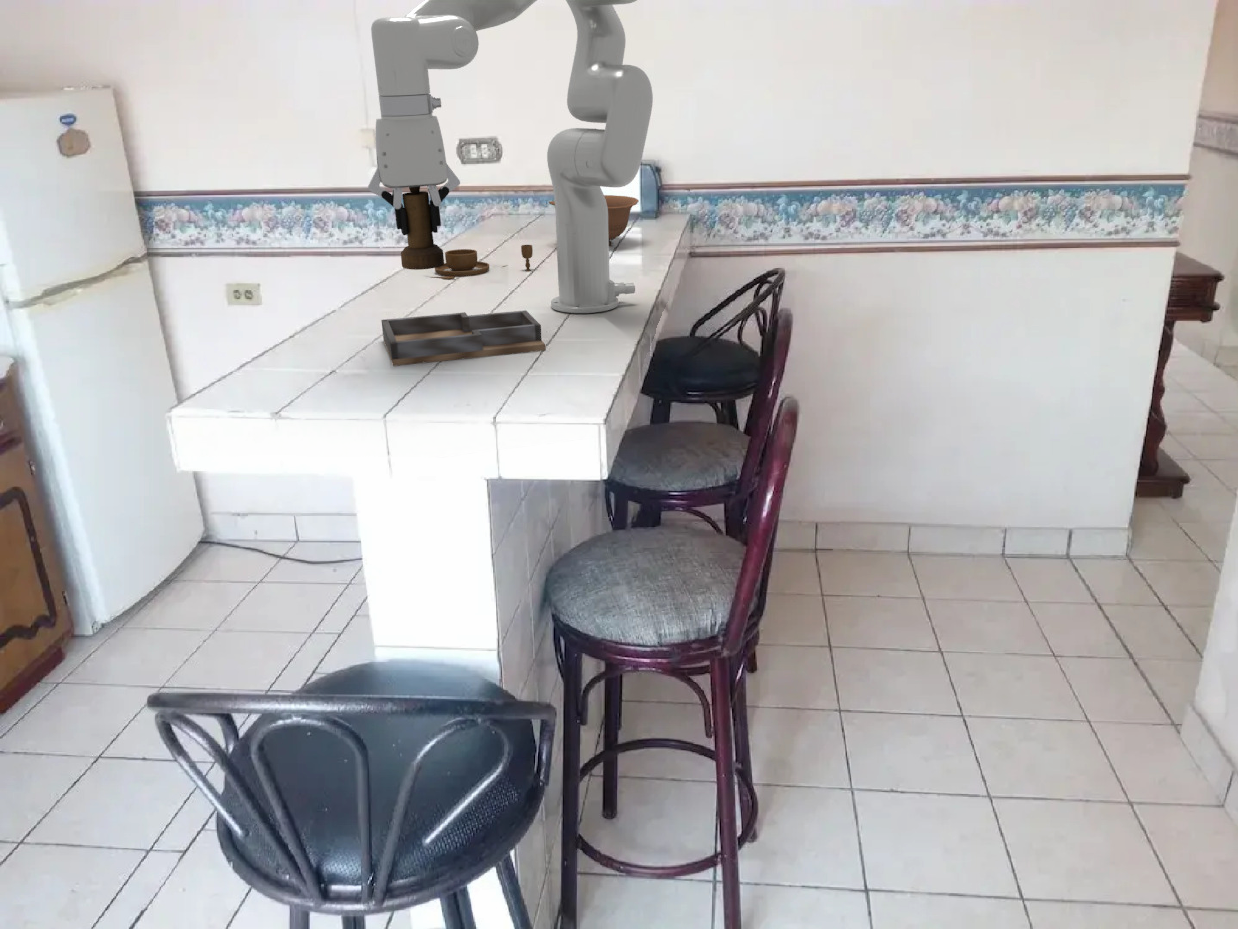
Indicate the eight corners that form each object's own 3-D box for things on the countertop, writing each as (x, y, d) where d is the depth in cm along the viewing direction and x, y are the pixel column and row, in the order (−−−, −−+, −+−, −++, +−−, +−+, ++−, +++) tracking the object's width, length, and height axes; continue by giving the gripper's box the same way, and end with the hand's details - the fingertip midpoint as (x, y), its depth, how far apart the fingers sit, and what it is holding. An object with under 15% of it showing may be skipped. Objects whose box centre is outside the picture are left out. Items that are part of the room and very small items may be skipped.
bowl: (538, 242, 256) (536, 197, 252) (618, 234, 264) (617, 191, 260) (568, 256, 237) (566, 208, 233) (653, 247, 245) (653, 201, 241)
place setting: (465, 264, 233) (463, 238, 231) (538, 271, 224) (537, 244, 222) (416, 279, 219) (413, 251, 217) (491, 286, 210) (489, 258, 208)
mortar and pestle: (394, 268, 158) (379, 148, 151) (414, 260, 163) (402, 143, 156) (431, 270, 156) (419, 148, 149) (451, 262, 161) (440, 143, 154)
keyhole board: (524, 326, 176) (522, 307, 175) (545, 350, 162) (544, 328, 160) (383, 340, 170) (381, 319, 168) (393, 365, 155) (390, 343, 154)
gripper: (458, 103, 156) (469, 224, 163) (347, 109, 152) (363, 233, 159) (466, 106, 149) (476, 231, 156) (349, 112, 145) (366, 241, 152)
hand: (419, 231), depth 157 cm, fingers closed on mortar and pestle, 4 cm apart
